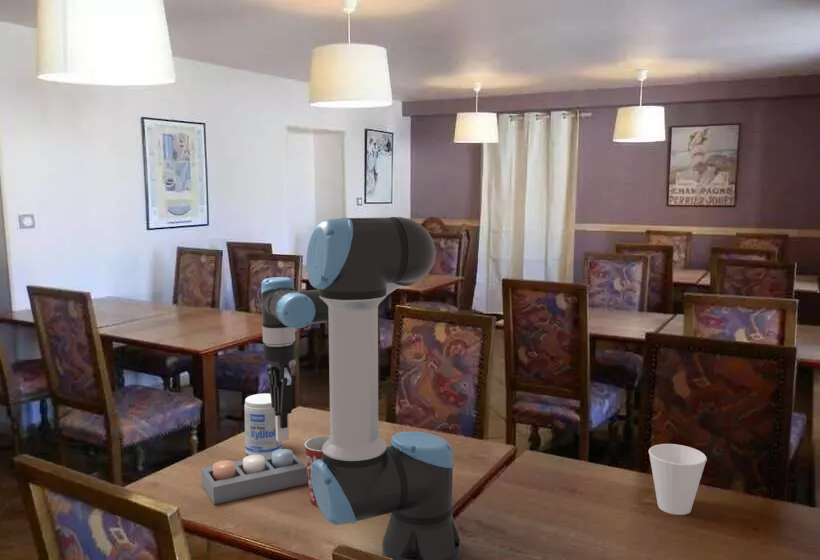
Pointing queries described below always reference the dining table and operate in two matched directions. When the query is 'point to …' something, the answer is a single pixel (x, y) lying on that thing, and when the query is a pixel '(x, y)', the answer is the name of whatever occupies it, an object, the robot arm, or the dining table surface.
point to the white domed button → (253, 464)
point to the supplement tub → (260, 426)
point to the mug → (313, 459)
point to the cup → (676, 476)
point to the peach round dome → (223, 470)
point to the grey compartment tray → (253, 480)
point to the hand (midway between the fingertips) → (282, 439)
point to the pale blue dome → (282, 458)
